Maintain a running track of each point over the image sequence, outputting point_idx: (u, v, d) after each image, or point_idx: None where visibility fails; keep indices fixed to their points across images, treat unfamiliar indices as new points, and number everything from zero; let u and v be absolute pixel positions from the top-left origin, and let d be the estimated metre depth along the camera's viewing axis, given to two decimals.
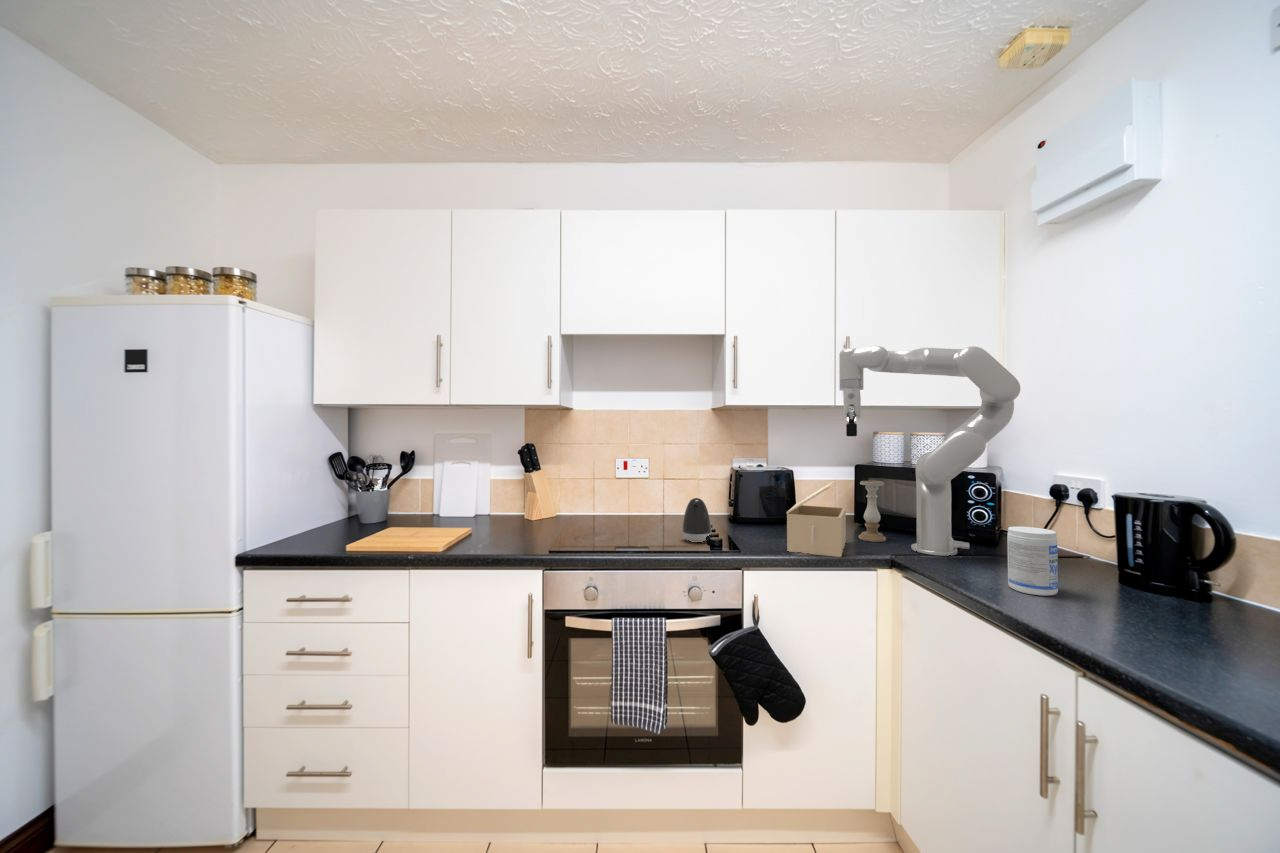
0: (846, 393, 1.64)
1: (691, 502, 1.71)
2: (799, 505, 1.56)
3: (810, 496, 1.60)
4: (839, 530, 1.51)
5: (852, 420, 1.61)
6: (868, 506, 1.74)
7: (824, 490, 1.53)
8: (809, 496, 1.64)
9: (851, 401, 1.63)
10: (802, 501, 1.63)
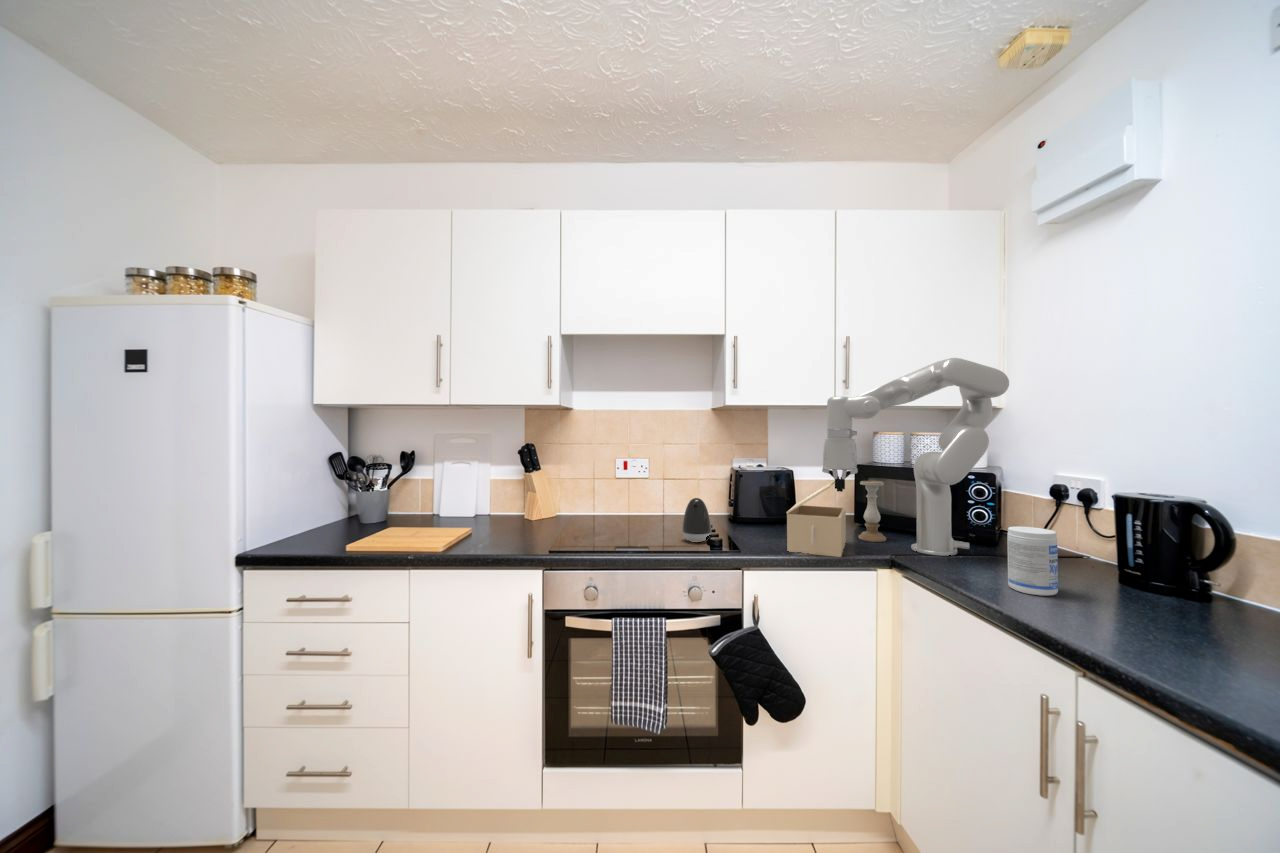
0: (854, 443, 1.57)
1: (691, 502, 1.71)
2: (799, 505, 1.56)
3: (810, 496, 1.60)
4: (839, 530, 1.51)
5: (848, 475, 1.59)
6: (868, 506, 1.74)
7: (824, 490, 1.53)
8: (809, 496, 1.64)
9: (856, 452, 1.58)
10: (802, 501, 1.63)
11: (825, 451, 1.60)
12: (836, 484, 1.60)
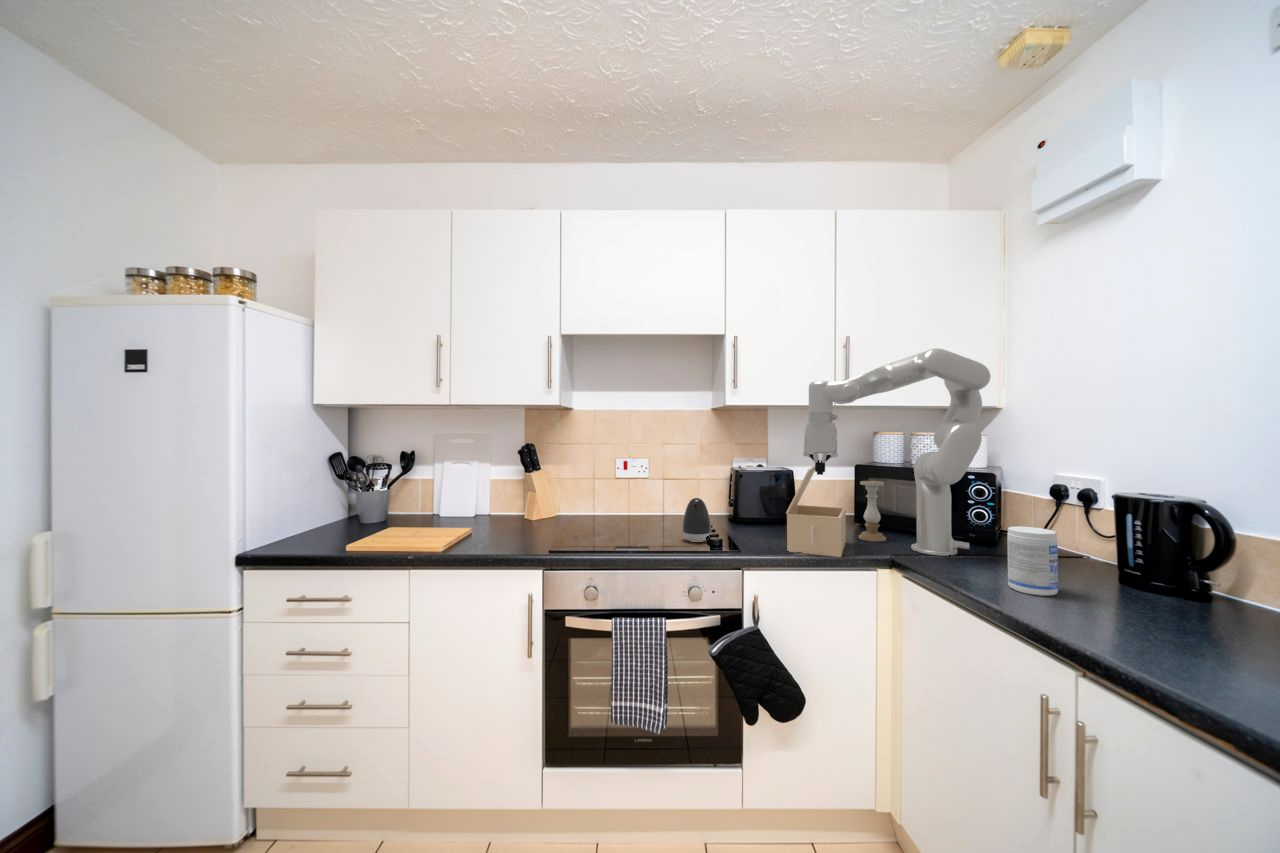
0: (834, 427, 1.59)
1: (691, 502, 1.71)
2: (793, 500, 1.57)
3: None
4: (839, 530, 1.51)
5: (828, 458, 1.62)
6: (868, 506, 1.74)
7: (806, 475, 1.55)
8: None
9: (836, 436, 1.61)
10: (796, 497, 1.64)
11: (806, 435, 1.63)
12: (816, 467, 1.62)
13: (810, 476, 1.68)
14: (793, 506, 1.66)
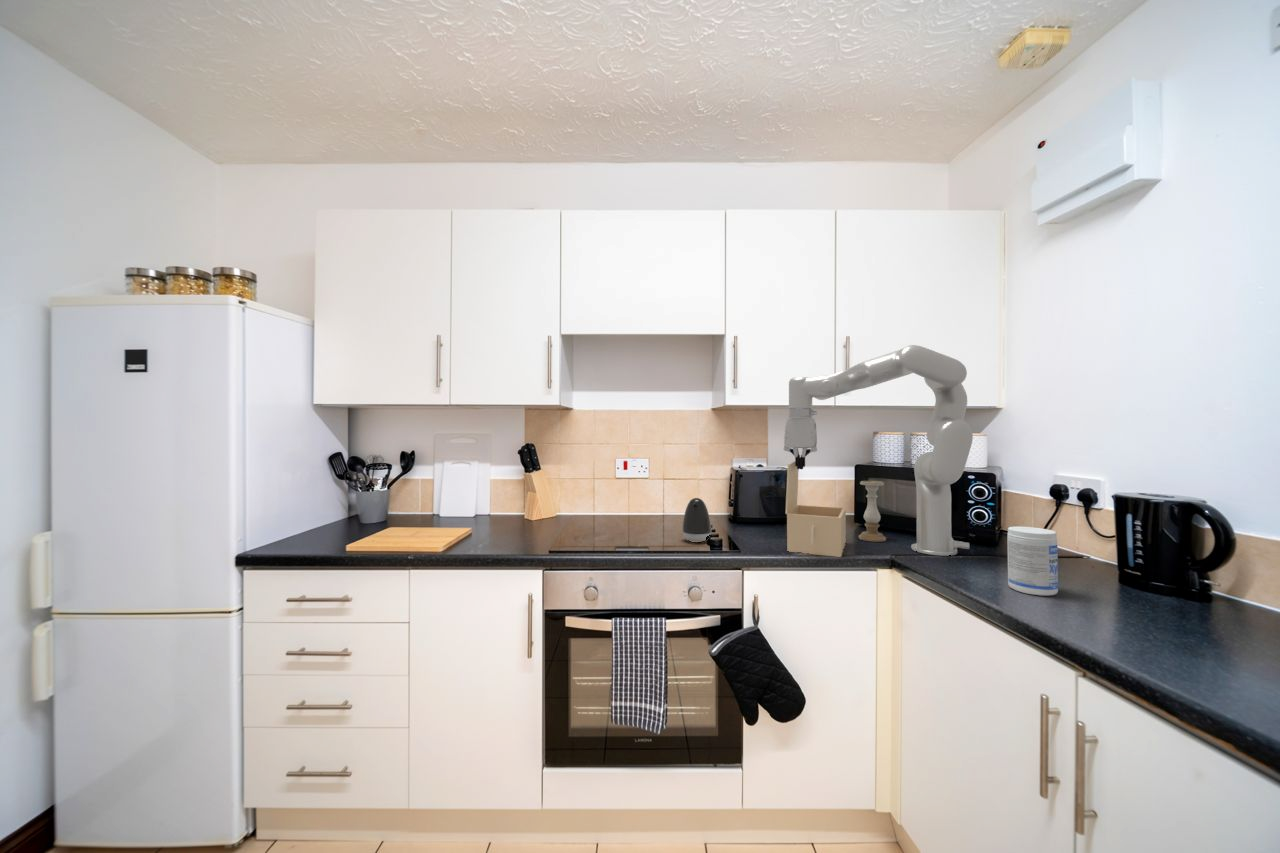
0: (813, 422, 1.62)
1: (691, 502, 1.71)
2: (787, 498, 1.58)
3: None
4: (839, 530, 1.51)
5: (808, 453, 1.65)
6: (868, 506, 1.74)
7: (788, 470, 1.58)
8: None
9: (815, 431, 1.63)
10: (790, 495, 1.65)
11: (786, 430, 1.65)
12: (796, 462, 1.65)
13: (795, 472, 1.70)
14: (792, 506, 1.66)
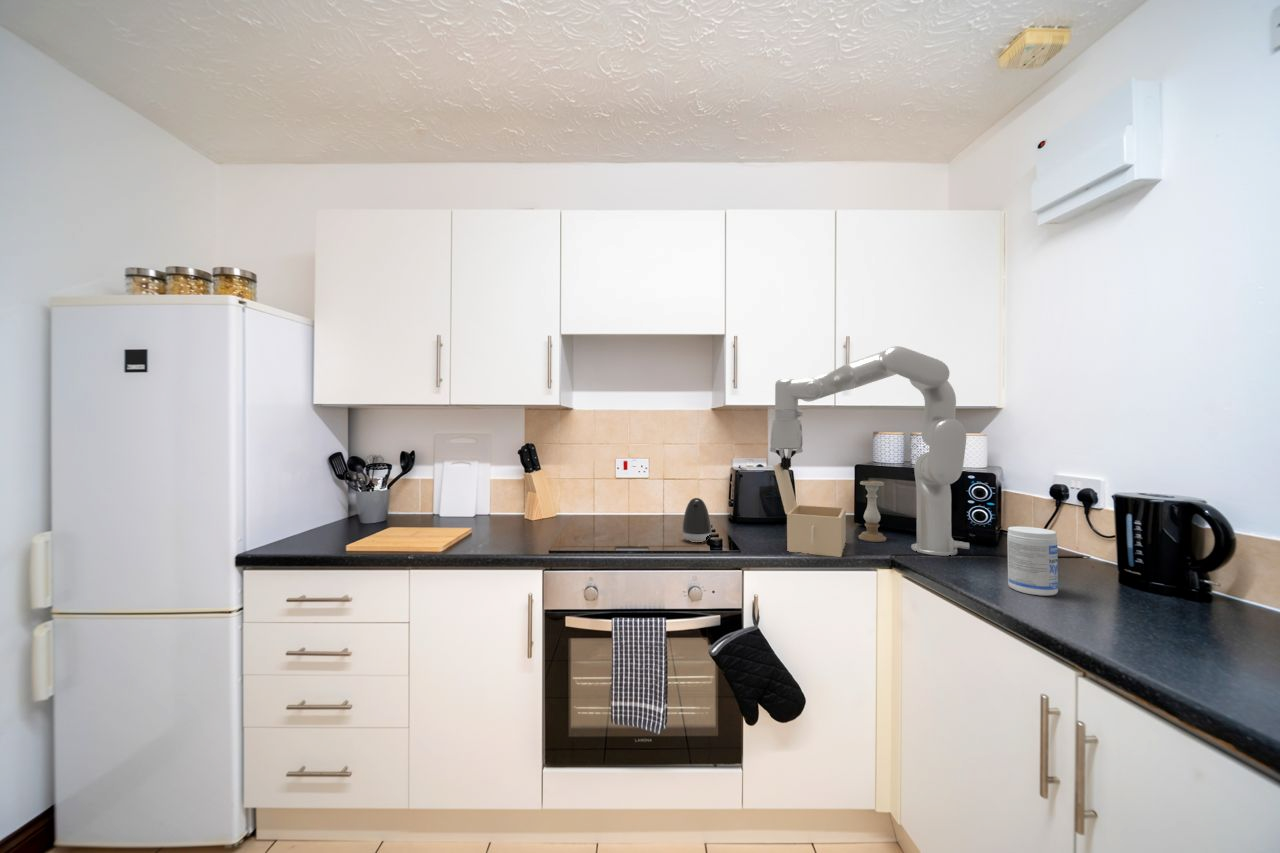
0: (799, 424, 1.64)
1: (691, 502, 1.71)
2: (782, 499, 1.58)
3: None
4: (839, 530, 1.51)
5: (794, 454, 1.67)
6: (868, 506, 1.74)
7: (775, 471, 1.59)
8: None
9: (801, 432, 1.65)
10: None
11: (772, 431, 1.68)
12: (782, 463, 1.67)
13: (785, 472, 1.72)
14: (790, 506, 1.66)
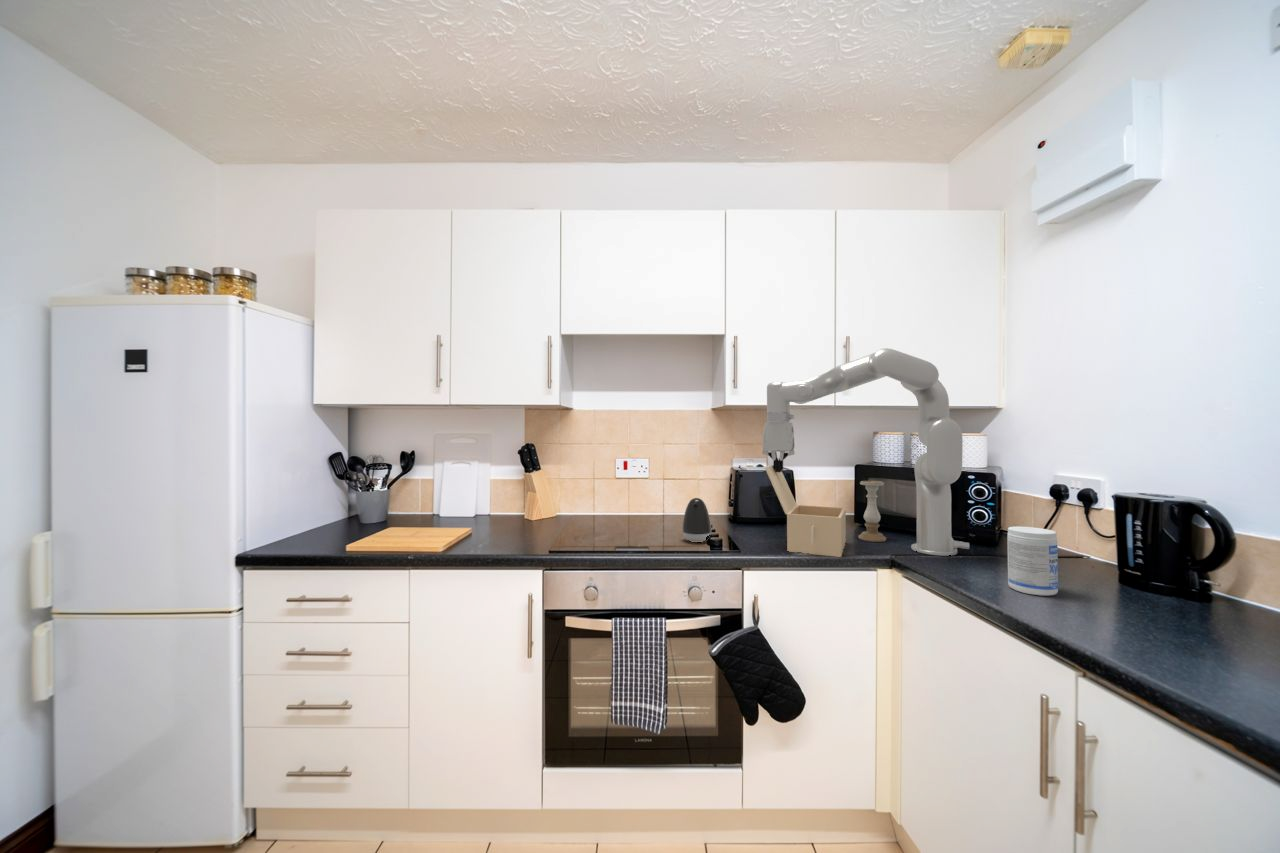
0: (790, 426, 1.65)
1: (691, 502, 1.71)
2: (780, 499, 1.59)
3: (778, 488, 1.65)
4: (839, 530, 1.51)
5: None
6: (868, 506, 1.74)
7: (768, 473, 1.60)
8: None
9: (793, 434, 1.67)
10: (783, 497, 1.66)
11: (764, 434, 1.69)
12: (775, 465, 1.68)
13: (779, 474, 1.73)
14: (790, 506, 1.66)
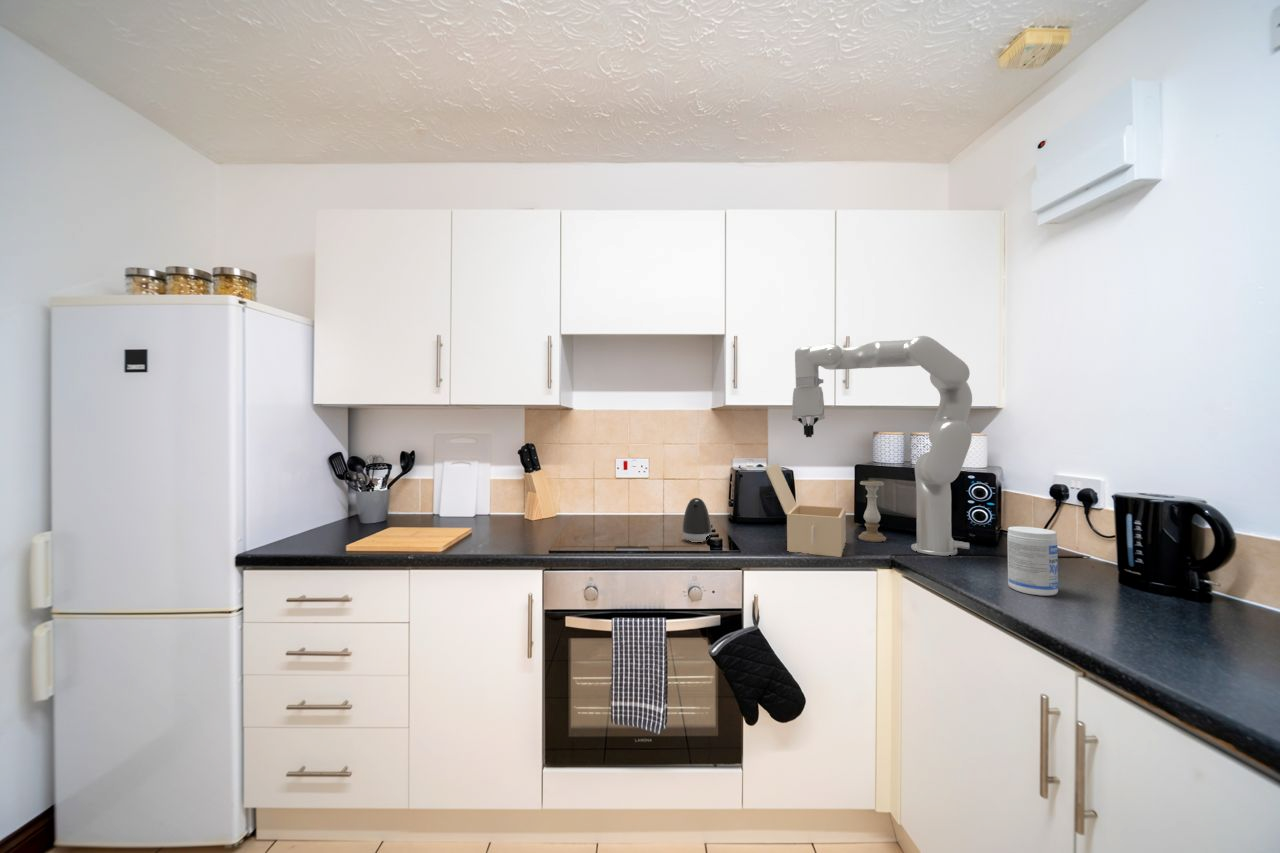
0: (820, 391, 1.66)
1: (691, 502, 1.71)
2: (780, 499, 1.59)
3: (778, 488, 1.65)
4: (839, 530, 1.51)
5: (816, 421, 1.68)
6: (868, 506, 1.74)
7: (768, 473, 1.60)
8: None
9: (823, 399, 1.67)
10: (783, 497, 1.66)
11: (794, 399, 1.69)
12: (805, 430, 1.68)
13: (779, 474, 1.73)
14: (790, 506, 1.66)
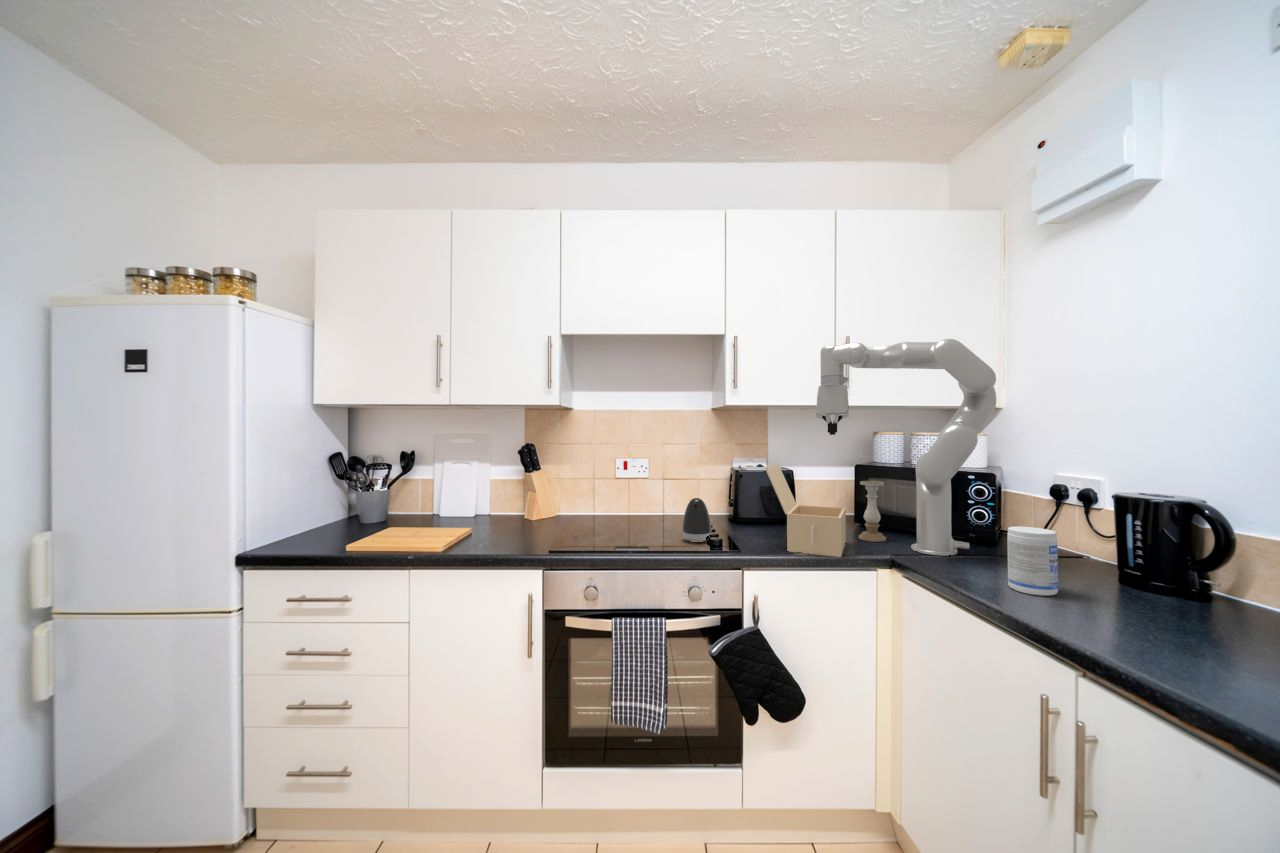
0: (845, 389, 1.67)
1: (691, 502, 1.71)
2: (780, 499, 1.59)
3: (778, 488, 1.65)
4: (839, 530, 1.51)
5: (840, 419, 1.70)
6: (868, 506, 1.74)
7: (768, 473, 1.60)
8: None
9: (847, 397, 1.68)
10: (783, 497, 1.66)
11: (818, 397, 1.70)
12: (829, 428, 1.70)
13: (779, 474, 1.73)
14: (790, 506, 1.66)
